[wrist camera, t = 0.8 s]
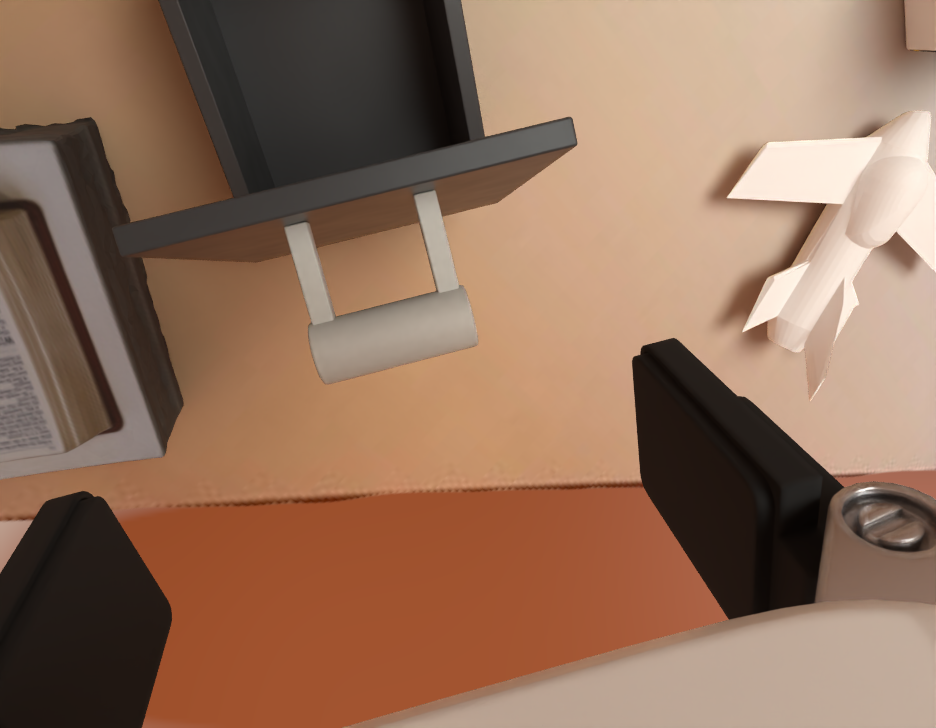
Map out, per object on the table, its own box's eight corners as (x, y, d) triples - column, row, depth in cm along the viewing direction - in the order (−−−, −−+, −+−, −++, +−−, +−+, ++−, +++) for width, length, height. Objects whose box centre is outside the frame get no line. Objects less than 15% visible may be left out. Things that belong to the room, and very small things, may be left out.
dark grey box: (172, -69, 33) (120, -96, 25) (411, -121, 33) (432, -163, 26) (271, 208, 40) (254, 252, 32) (466, 160, 41) (495, 192, 33)
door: (109, 227, 17) (179, 436, 18) (572, 115, 17) (616, 322, 18) (250, 246, 32) (284, 358, 33) (495, 186, 33) (520, 297, 33)
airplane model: (994, 152, 47) (1099, 173, 40) (843, 380, 55) (911, 428, 48) (780, 53, 41) (863, 59, 34) (645, 324, 49) (692, 371, 42)
